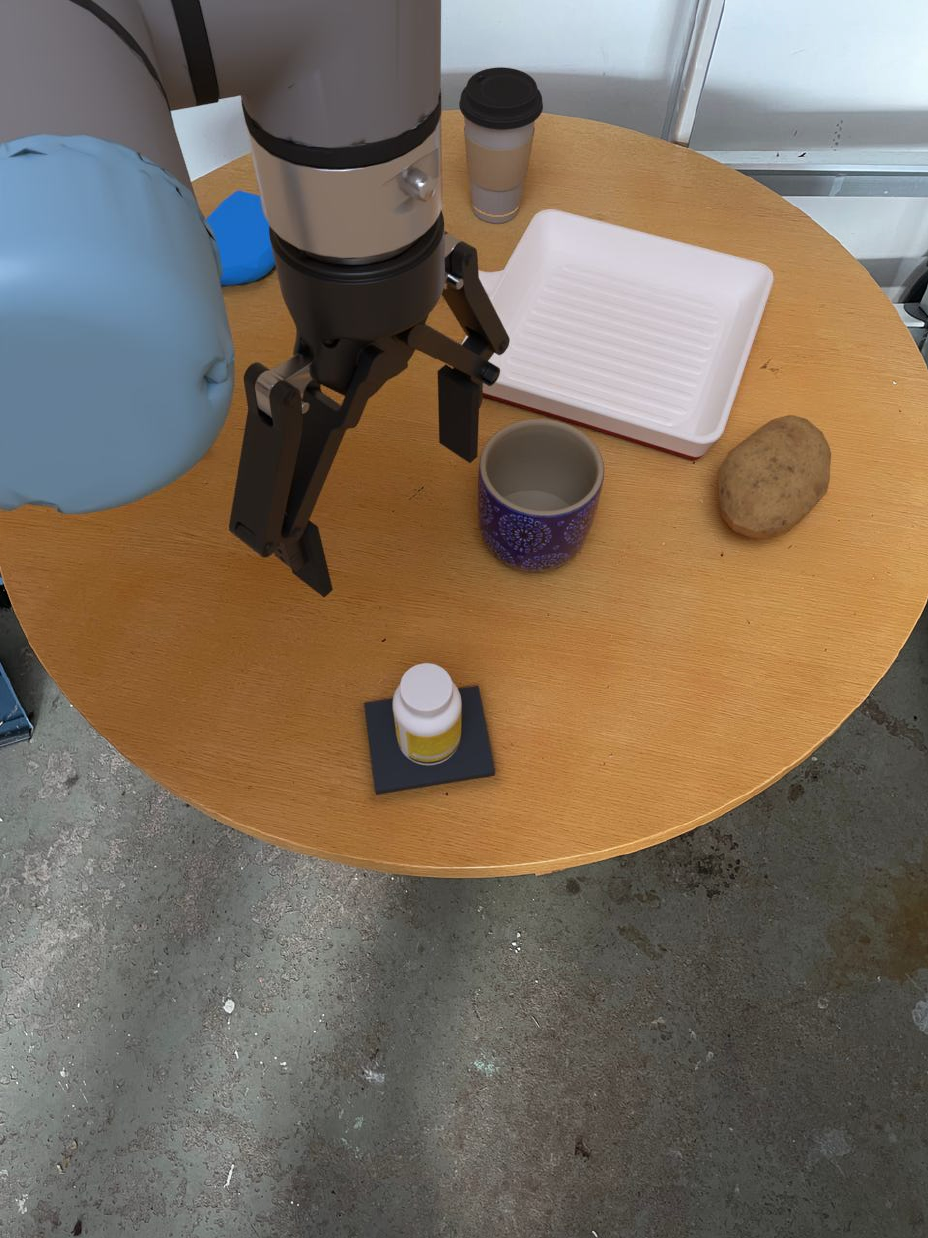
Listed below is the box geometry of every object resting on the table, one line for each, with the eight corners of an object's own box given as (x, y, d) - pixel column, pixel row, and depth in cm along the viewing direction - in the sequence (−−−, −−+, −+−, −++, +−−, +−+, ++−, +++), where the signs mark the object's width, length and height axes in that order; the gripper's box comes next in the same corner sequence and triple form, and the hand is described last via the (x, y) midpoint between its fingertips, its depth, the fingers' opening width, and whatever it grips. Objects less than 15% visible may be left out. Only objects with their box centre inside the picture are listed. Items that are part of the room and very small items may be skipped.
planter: (599, 579, 82) (619, 507, 72) (485, 593, 81) (490, 523, 71) (574, 488, 87) (589, 410, 78) (467, 500, 86) (469, 423, 77)
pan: (706, 477, 88) (718, 446, 84) (321, 359, 96) (315, 325, 92) (765, 299, 101) (778, 265, 97) (422, 208, 109) (421, 172, 105)
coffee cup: (464, 182, 111) (465, 59, 98) (537, 189, 111) (548, 66, 98) (453, 229, 107) (453, 107, 94) (529, 236, 106) (540, 115, 93)
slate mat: (375, 795, 71) (375, 791, 71) (364, 707, 75) (363, 702, 74) (494, 776, 72) (495, 771, 71) (478, 689, 76) (478, 685, 75)
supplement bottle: (474, 739, 73) (477, 690, 64) (425, 779, 71) (421, 735, 63) (433, 694, 75) (430, 641, 66) (383, 733, 73) (374, 683, 65)
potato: (680, 531, 85) (700, 479, 78) (745, 442, 90) (769, 386, 84) (770, 581, 82) (800, 532, 75) (832, 486, 88) (864, 432, 81)
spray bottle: (227, 184, 106) (115, 315, 95) (307, 206, 104) (202, 342, 93) (233, 205, 109) (125, 336, 98) (311, 227, 107) (209, 363, 96)
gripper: (187, 426, 31) (288, 682, 49) (600, 116, 40) (554, 428, 59) (57, 328, 33) (200, 607, 52) (476, 57, 43) (469, 375, 61)
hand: (388, 512), depth 55 cm, fingers open, 13 cm apart
